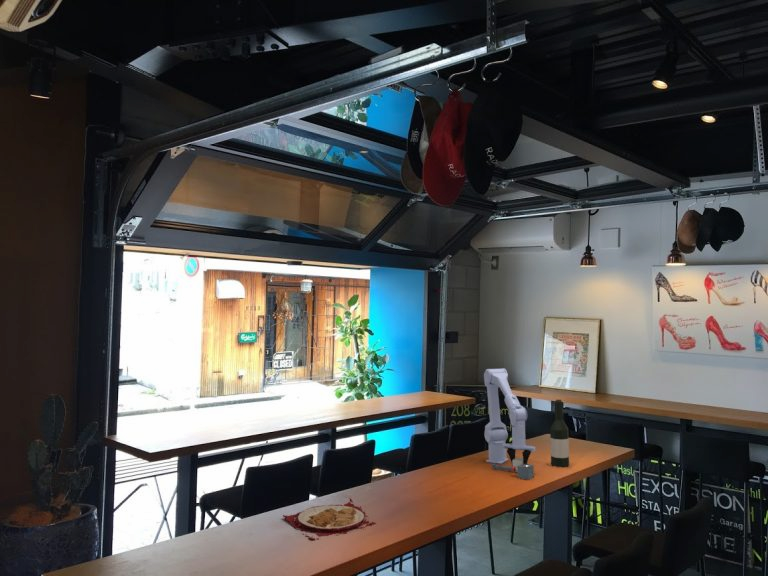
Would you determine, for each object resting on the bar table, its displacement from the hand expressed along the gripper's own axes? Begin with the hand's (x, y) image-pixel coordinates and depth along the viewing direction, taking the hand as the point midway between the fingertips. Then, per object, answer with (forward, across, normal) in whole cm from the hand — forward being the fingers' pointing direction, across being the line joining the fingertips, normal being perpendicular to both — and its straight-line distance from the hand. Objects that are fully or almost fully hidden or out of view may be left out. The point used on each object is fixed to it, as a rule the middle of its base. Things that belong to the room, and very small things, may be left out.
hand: (519, 466), depth 265 cm
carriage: (+2, 0, 0) cm, 2 cm away
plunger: (+1, +2, -7) cm, 8 cm away
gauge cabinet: (+2, +6, -8) cm, 10 cm away
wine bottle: (+3, +12, +21) cm, 24 cm away
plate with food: (+3, -32, -94) cm, 99 cm away
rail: (+2, -4, 0) cm, 4 cm away
